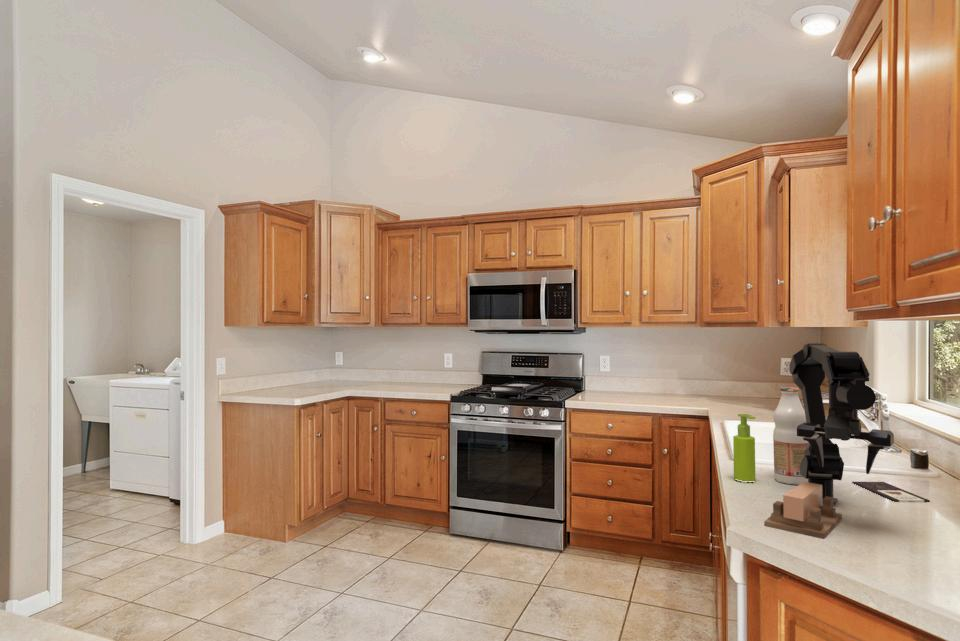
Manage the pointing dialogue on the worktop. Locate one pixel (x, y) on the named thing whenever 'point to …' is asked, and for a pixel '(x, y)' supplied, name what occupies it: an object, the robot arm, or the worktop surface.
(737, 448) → the soap dispenser
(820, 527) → the drying rack
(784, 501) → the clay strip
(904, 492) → the chocolate bar
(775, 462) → the fruit juice
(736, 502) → the worktop surface
